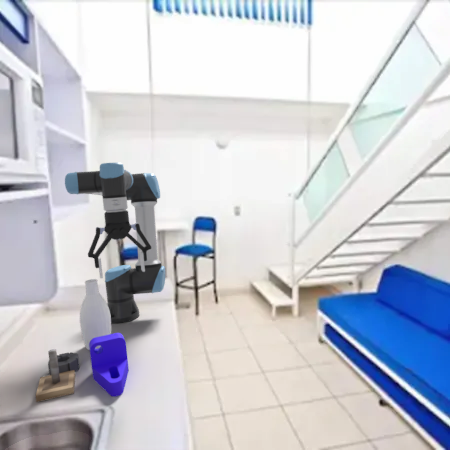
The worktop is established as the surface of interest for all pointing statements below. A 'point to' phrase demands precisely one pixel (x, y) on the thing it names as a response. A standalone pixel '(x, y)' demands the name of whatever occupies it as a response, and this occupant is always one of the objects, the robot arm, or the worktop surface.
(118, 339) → the bracket
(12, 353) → the worktop surface
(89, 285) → the bottle
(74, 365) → the dark grey gear
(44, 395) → the peg base board
